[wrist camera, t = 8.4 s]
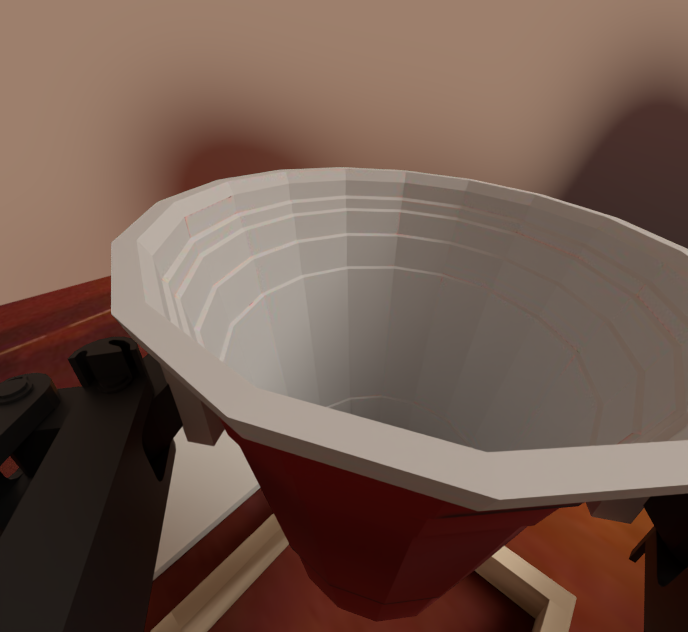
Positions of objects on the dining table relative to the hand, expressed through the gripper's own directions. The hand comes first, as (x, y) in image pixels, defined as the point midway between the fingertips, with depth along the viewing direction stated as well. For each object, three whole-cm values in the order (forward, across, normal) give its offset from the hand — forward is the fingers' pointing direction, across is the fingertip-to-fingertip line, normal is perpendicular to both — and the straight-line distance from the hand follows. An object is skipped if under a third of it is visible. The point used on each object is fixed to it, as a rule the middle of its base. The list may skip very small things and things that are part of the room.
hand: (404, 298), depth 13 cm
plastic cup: (-5, 0, -8) cm, 9 cm away
